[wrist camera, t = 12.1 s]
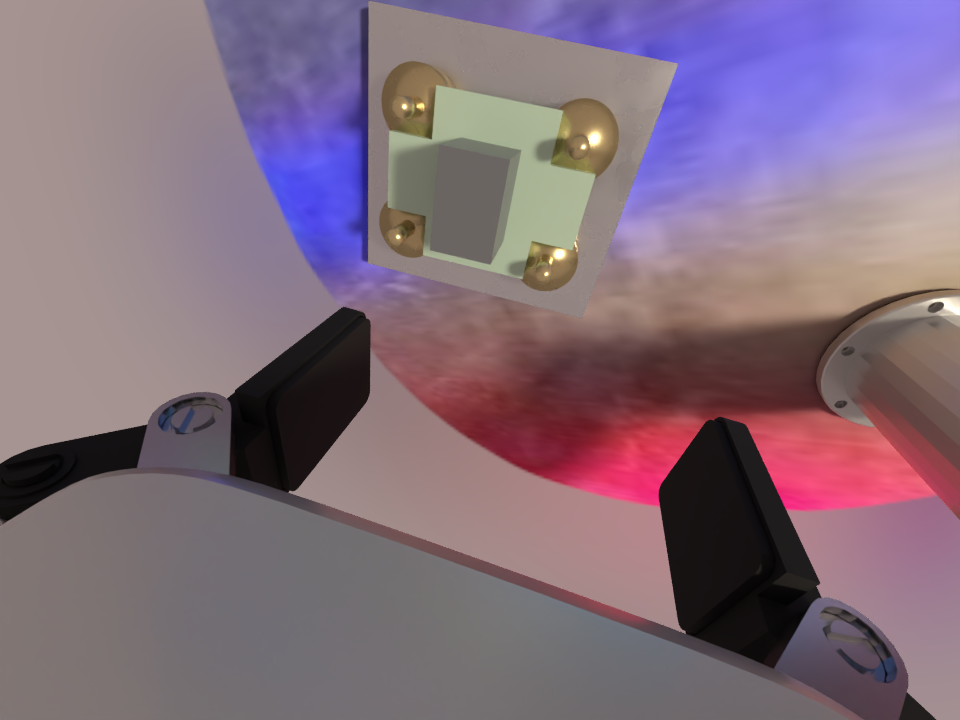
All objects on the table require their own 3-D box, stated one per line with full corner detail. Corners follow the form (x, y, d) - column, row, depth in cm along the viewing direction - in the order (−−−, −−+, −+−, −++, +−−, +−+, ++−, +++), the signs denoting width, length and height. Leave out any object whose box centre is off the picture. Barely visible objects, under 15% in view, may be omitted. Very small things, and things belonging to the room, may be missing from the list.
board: (611, 120, 24) (619, 124, 19) (561, 284, 30) (557, 318, 25) (395, 76, 25) (351, 70, 20) (390, 243, 31) (357, 268, 26)
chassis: (674, 65, 24) (701, 54, 19) (582, 312, 35) (582, 351, 29) (376, 4, 26) (322, -22, 20) (373, 258, 36) (337, 286, 31)
